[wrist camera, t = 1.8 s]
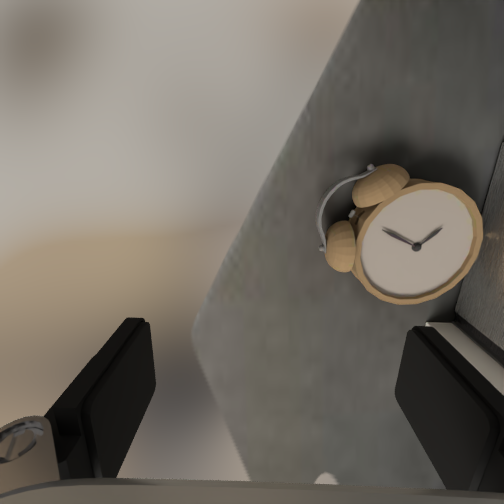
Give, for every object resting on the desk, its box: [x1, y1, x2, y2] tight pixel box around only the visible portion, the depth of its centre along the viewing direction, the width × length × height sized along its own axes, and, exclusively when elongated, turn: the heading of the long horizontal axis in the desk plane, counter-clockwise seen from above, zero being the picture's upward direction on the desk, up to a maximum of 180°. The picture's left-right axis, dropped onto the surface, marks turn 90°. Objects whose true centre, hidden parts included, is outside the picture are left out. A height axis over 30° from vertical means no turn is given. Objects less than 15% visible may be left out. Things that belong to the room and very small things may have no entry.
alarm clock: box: [316, 164, 483, 305], centre depth 26 cm, size 11×5×15 cm
